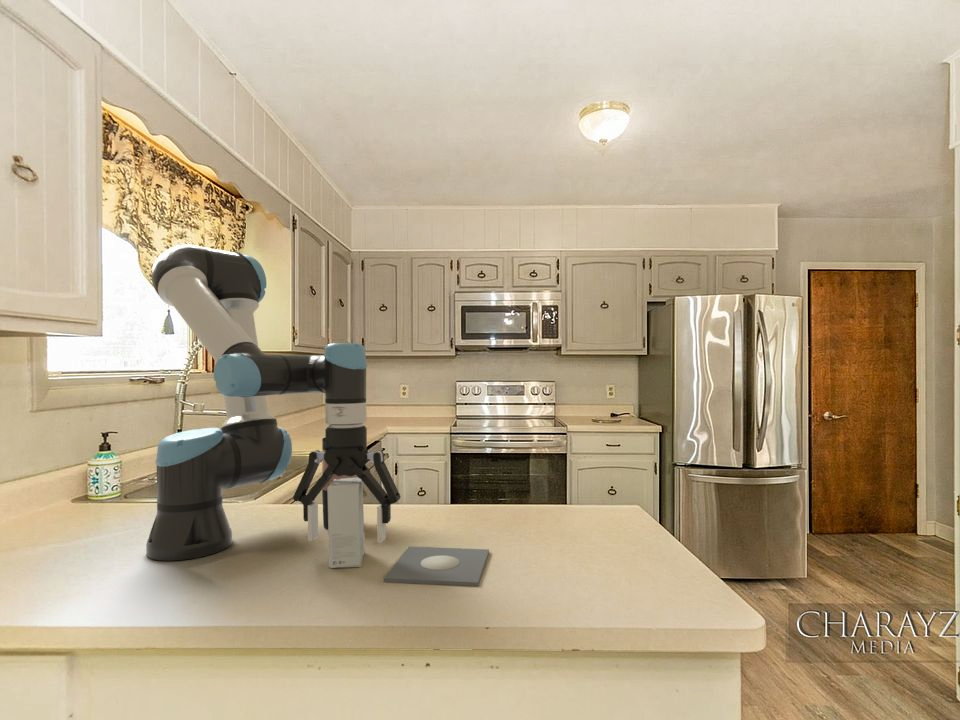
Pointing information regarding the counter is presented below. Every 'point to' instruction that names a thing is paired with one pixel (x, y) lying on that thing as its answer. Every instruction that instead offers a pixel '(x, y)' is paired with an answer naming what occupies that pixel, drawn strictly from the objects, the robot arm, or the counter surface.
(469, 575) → the mat
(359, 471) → the robot arm
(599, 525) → the counter surface
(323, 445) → the travel mug
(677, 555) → the counter surface
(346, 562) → the skincare box
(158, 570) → the counter surface
